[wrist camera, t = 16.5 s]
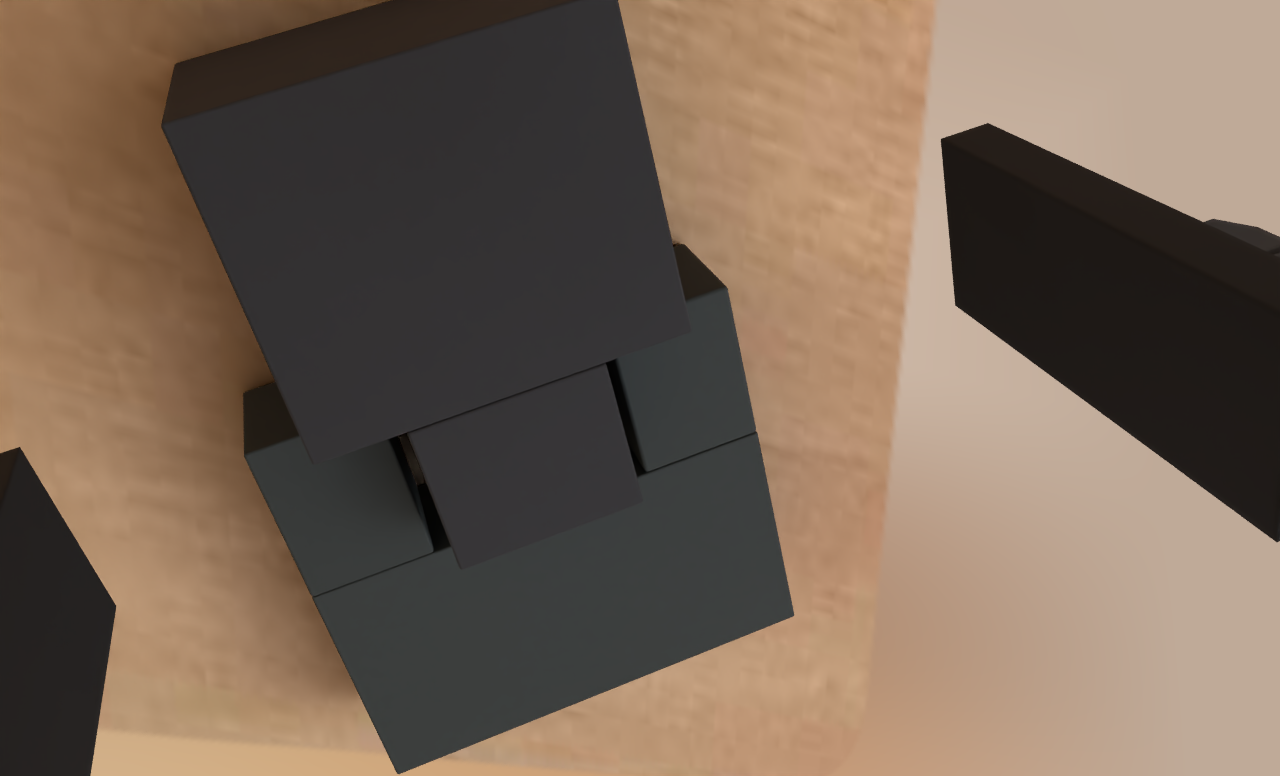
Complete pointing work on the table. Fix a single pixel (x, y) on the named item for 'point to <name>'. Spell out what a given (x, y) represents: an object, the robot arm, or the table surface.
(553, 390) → the pad
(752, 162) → the table surface
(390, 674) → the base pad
